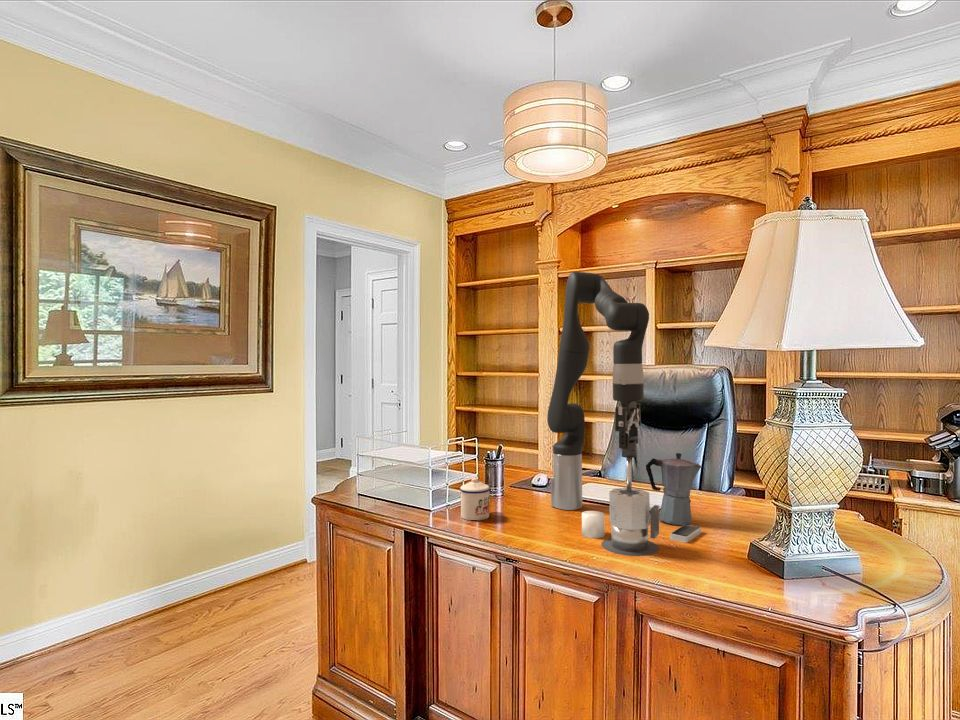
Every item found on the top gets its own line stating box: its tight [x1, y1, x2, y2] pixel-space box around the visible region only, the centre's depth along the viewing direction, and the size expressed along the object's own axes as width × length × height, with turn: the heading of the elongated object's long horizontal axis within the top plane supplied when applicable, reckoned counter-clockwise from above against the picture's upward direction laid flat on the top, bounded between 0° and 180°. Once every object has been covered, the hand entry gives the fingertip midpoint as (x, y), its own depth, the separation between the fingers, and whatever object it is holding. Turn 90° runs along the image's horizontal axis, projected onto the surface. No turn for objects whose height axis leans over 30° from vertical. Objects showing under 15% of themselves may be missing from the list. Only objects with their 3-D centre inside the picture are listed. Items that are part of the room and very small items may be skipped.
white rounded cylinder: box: [581, 510, 606, 539], centre depth 145 cm, size 6×6×6 cm
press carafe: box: [608, 487, 660, 552], centre depth 135 cm, size 11×9×14 cm
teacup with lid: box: [459, 477, 491, 521], centre depth 165 cm, size 12×9×12 cm
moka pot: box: [645, 452, 703, 526], centre depth 157 cm, size 10×15×20 cm, turn 78°
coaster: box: [600, 537, 660, 557], centre depth 136 cm, size 14×14×1 cm
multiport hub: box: [669, 524, 702, 544], centre depth 143 cm, size 4×11×2 cm, turn 139°
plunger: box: [620, 435, 639, 493], centre depth 136 cm, size 5×5×14 cm
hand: (628, 446), depth 136 cm, fingers open, 8 cm apart
